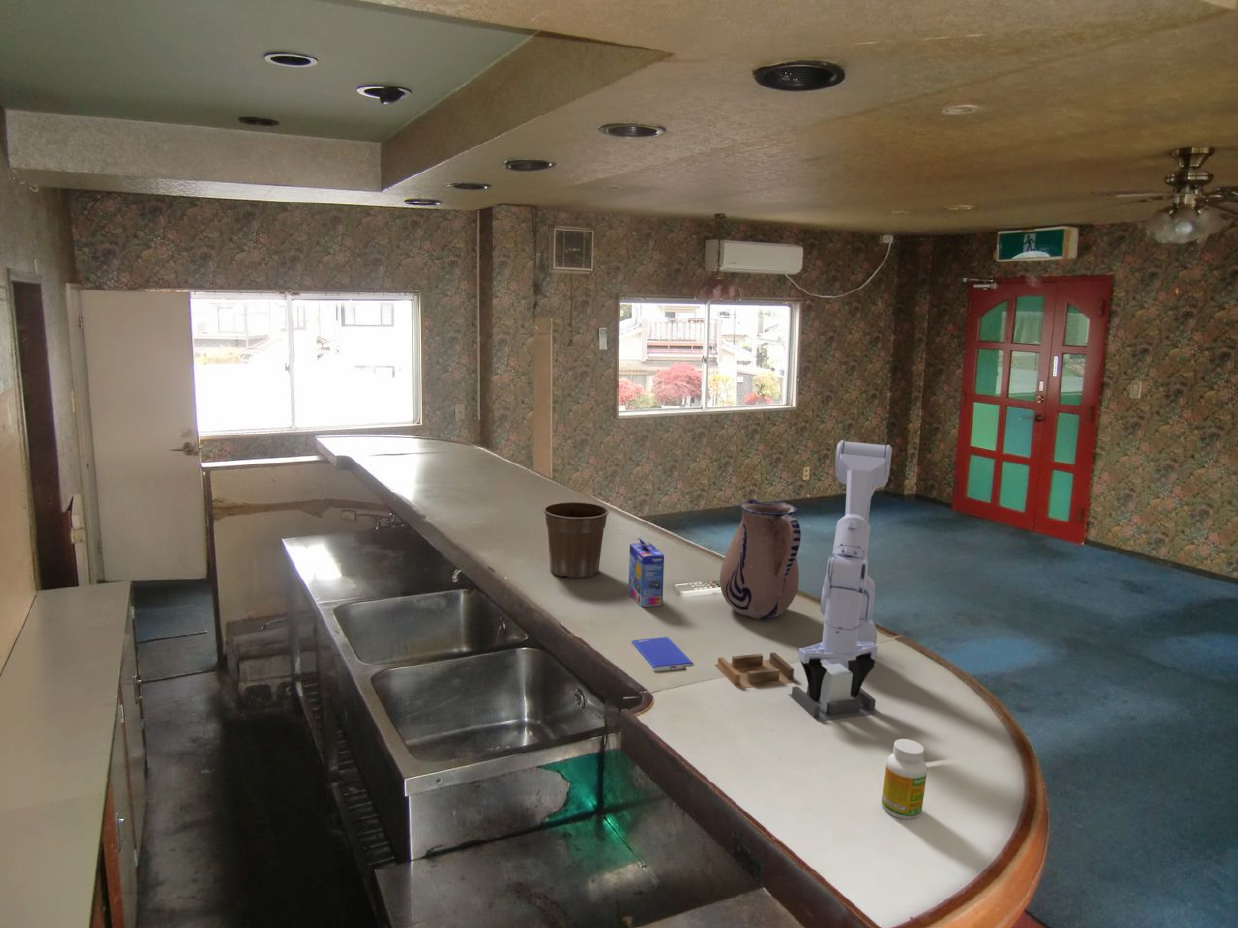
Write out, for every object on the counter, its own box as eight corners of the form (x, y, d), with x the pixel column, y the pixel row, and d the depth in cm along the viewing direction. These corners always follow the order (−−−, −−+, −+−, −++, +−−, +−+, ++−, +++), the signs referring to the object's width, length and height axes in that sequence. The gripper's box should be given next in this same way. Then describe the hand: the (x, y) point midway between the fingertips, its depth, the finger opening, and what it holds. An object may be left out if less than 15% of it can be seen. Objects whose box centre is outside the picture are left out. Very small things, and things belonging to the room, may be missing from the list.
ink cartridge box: (626, 592, 199) (629, 533, 196) (648, 591, 201) (651, 532, 198) (640, 607, 190) (643, 546, 187) (663, 606, 192) (667, 544, 189)
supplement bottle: (911, 825, 115) (920, 760, 113) (874, 808, 119) (882, 745, 117) (927, 809, 119) (936, 746, 117) (891, 793, 123) (898, 731, 121)
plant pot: (529, 566, 214) (531, 505, 211) (583, 557, 223) (585, 498, 220) (563, 586, 201) (565, 520, 198) (618, 575, 210) (621, 513, 207)
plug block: (836, 697, 150) (840, 663, 149) (848, 707, 147) (852, 673, 145) (816, 699, 149) (820, 665, 148) (828, 710, 145) (832, 675, 144)
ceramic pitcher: (758, 593, 203) (767, 492, 198) (824, 624, 186) (835, 514, 181) (701, 605, 193) (709, 499, 188) (764, 638, 176) (775, 523, 171)
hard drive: (631, 639, 169) (653, 666, 158) (668, 636, 172) (693, 662, 161) (630, 647, 170) (653, 674, 158) (668, 643, 172) (693, 669, 161)
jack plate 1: (770, 661, 165) (771, 649, 165) (796, 684, 156) (797, 671, 155) (714, 667, 161) (715, 654, 161) (737, 690, 152) (738, 678, 151)
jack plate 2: (846, 690, 155) (847, 677, 154) (878, 716, 145) (880, 703, 145) (787, 696, 151) (789, 683, 150) (817, 724, 141) (818, 710, 141)
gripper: (816, 635, 139) (808, 711, 142) (891, 629, 143) (882, 702, 146) (795, 619, 145) (788, 692, 148) (867, 613, 150) (859, 684, 153)
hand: (833, 696), depth 148 cm, fingers open, 7 cm apart
